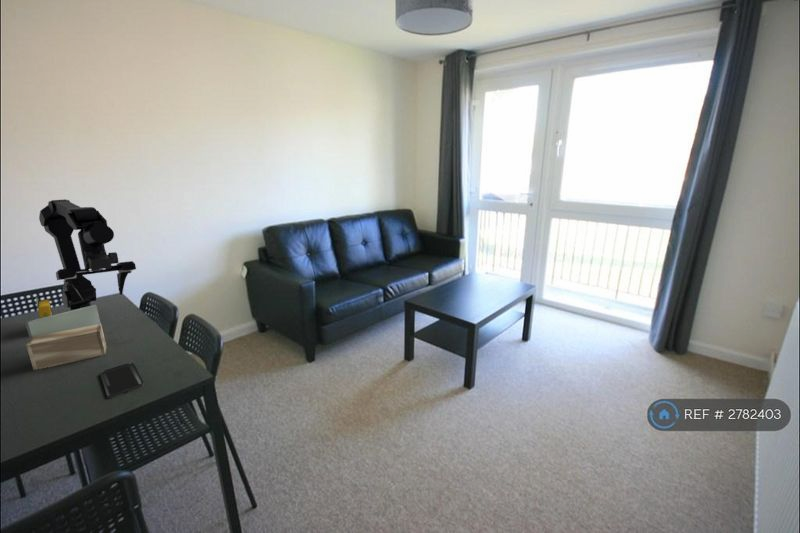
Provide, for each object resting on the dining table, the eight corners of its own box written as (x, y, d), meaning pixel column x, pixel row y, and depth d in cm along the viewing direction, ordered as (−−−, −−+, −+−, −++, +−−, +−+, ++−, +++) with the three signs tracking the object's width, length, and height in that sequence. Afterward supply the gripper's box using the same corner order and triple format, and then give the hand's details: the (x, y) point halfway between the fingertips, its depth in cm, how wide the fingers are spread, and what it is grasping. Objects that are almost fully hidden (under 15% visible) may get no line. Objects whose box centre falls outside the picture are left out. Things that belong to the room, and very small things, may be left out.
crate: (38, 361, 108) (30, 336, 106) (106, 346, 117) (101, 323, 115) (33, 370, 104) (26, 345, 101) (105, 354, 112) (99, 331, 110)
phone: (132, 361, 108) (144, 384, 98) (133, 365, 108) (145, 387, 98) (98, 372, 102) (107, 396, 92) (99, 375, 103) (108, 400, 93)
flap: (35, 359, 109) (24, 322, 105) (103, 338, 122) (95, 304, 118) (36, 360, 108) (25, 323, 105) (104, 339, 121) (96, 305, 118)
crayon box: (56, 331, 126) (47, 300, 122) (44, 334, 124) (35, 302, 120) (56, 324, 131) (47, 294, 128) (44, 326, 129) (35, 296, 126)
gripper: (55, 248, 101) (67, 303, 102) (135, 241, 115) (145, 290, 116) (51, 252, 109) (62, 304, 110) (126, 246, 123) (136, 292, 123)
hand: (103, 297), depth 114 cm, fingers open, 9 cm apart
